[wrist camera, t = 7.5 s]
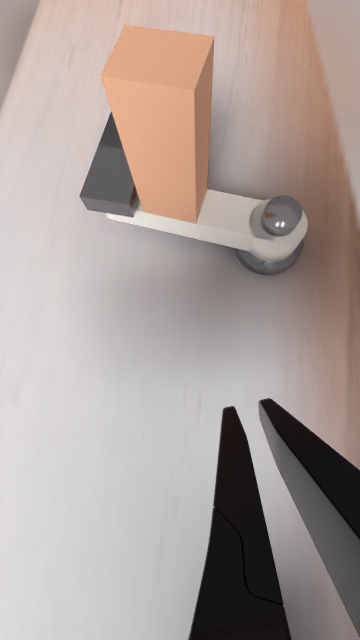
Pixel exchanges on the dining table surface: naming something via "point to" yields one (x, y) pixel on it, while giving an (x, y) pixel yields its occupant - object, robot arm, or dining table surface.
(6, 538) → the dining table surface
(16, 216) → the dining table surface
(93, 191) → the dark grey block
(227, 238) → the link
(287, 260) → the pintle plate
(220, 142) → the dining table surface
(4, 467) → the dining table surface
